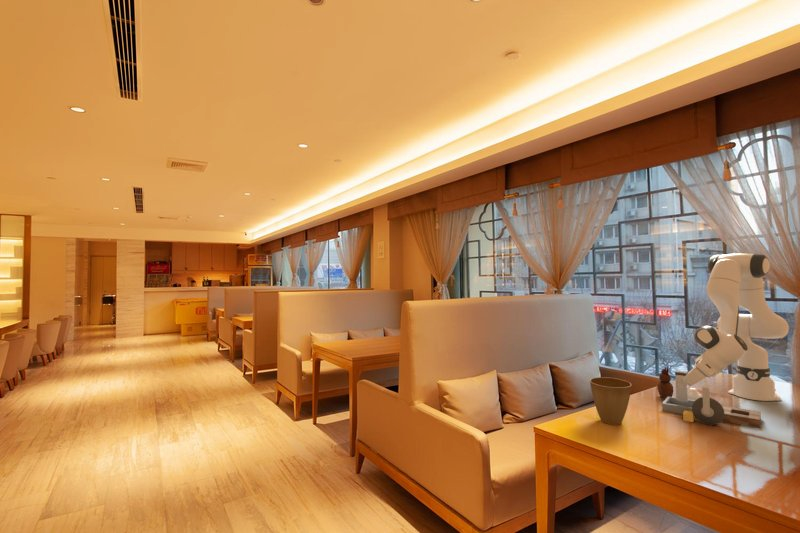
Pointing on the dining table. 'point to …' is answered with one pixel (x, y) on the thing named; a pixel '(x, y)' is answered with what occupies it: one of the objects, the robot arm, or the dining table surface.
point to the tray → (676, 405)
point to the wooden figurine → (665, 384)
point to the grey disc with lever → (705, 410)
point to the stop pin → (683, 392)
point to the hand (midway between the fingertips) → (680, 385)
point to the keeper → (741, 416)
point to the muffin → (694, 394)
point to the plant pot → (610, 398)
